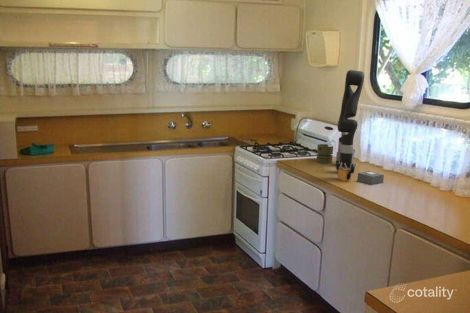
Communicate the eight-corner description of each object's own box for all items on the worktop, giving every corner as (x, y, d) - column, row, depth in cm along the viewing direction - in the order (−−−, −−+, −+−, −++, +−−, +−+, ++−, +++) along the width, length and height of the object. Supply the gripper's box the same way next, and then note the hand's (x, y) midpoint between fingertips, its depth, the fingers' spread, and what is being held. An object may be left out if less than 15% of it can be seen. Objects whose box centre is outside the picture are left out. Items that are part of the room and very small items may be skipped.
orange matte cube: (337, 179, 302) (338, 169, 301) (343, 178, 305) (344, 168, 304) (344, 181, 298) (345, 171, 297) (350, 179, 301) (351, 170, 300)
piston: (326, 143, 359) (336, 146, 349) (325, 159, 361) (335, 162, 352) (314, 144, 353) (324, 147, 344) (313, 160, 356) (323, 163, 346)
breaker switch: (365, 177, 298) (365, 172, 298) (369, 176, 301) (370, 171, 300) (371, 178, 295) (371, 174, 294) (375, 178, 297) (376, 173, 297)
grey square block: (357, 180, 299) (358, 172, 298) (368, 178, 306) (369, 170, 305) (371, 184, 291) (372, 175, 290) (383, 182, 297) (384, 173, 296)
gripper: (359, 153, 295) (357, 180, 298) (341, 149, 306) (339, 175, 309) (351, 154, 290) (349, 181, 294) (333, 150, 301) (331, 176, 305)
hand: (344, 178), depth 301 cm, fingers closed on orange matte cube, 5 cm apart
